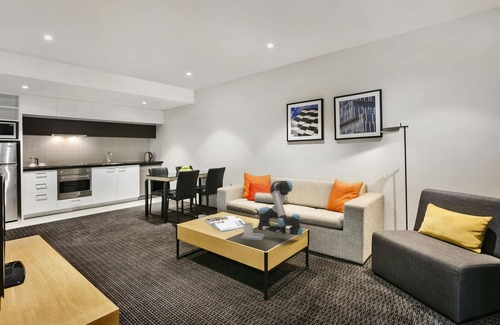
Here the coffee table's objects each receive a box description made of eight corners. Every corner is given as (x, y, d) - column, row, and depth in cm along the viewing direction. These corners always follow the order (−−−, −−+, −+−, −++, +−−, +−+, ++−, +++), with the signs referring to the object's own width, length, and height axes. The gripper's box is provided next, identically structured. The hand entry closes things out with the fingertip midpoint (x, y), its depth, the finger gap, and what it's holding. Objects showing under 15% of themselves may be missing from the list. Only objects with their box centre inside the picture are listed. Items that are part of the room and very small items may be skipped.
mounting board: (245, 234, 273) (245, 231, 272) (265, 235, 266) (265, 233, 266) (240, 238, 257) (240, 236, 257) (261, 240, 251) (261, 238, 250)
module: (245, 234, 267) (245, 222, 267) (252, 235, 265) (252, 222, 264) (243, 236, 262) (243, 223, 261) (251, 237, 259) (251, 224, 259)
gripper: (284, 236, 245) (260, 233, 253) (287, 231, 258) (264, 229, 265) (284, 228, 245) (260, 226, 252) (287, 224, 257) (264, 222, 265)
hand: (262, 227), depth 259 cm, fingers closed
